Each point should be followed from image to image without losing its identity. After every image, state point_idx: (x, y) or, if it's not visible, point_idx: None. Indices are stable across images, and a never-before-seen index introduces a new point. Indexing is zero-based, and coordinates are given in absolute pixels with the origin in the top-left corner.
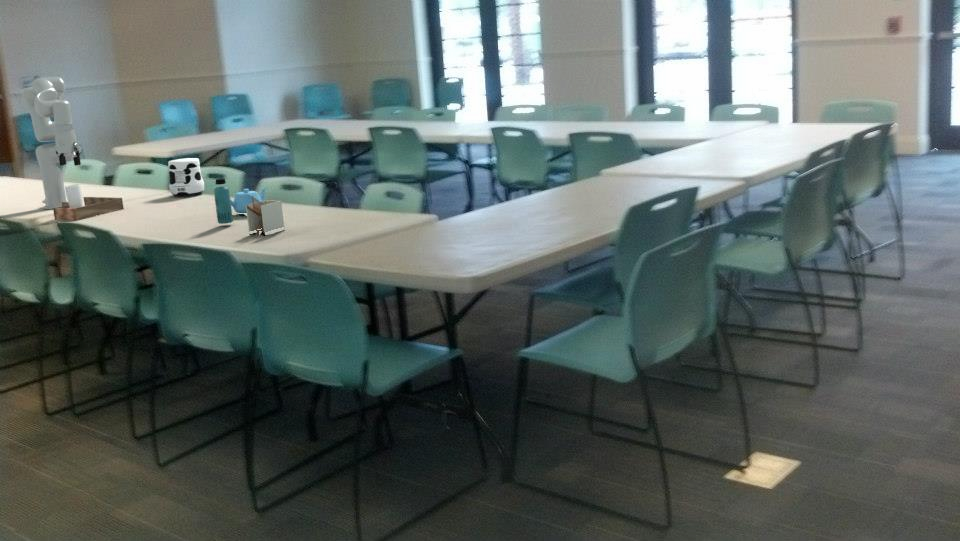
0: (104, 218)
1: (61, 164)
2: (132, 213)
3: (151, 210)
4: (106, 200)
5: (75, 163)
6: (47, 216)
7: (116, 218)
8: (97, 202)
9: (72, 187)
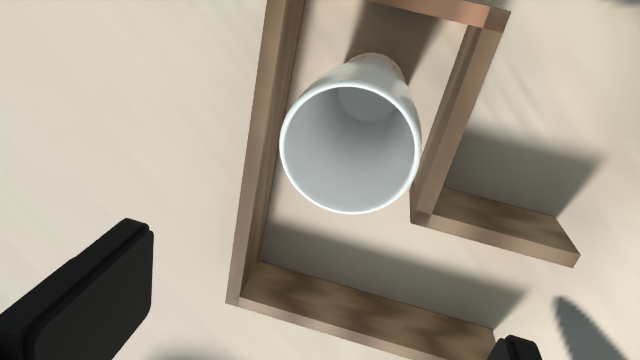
0: (156, 25)
1: (502, 350)
2: (108, 150)
3: (74, 208)
4: (330, 313)
5: (106, 244)
6: (628, 137)
7: (82, 19)
8: (399, 324)
9: (309, 90)
